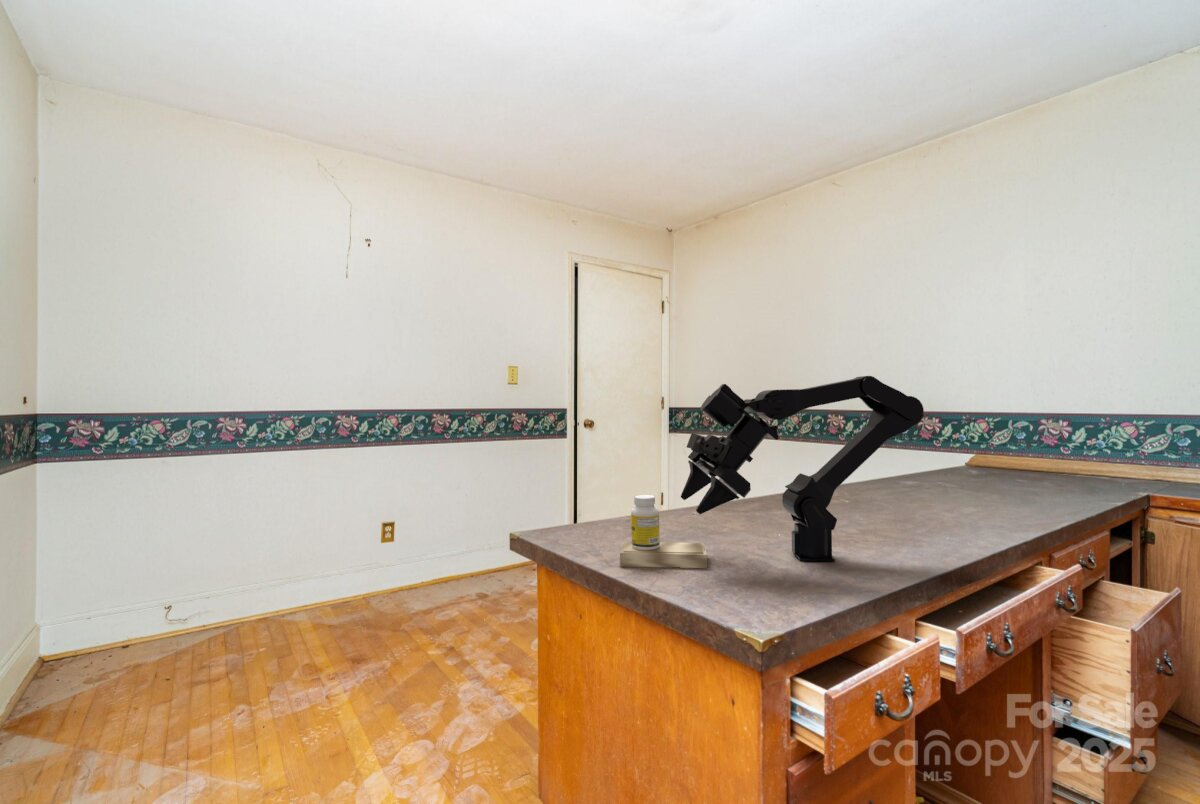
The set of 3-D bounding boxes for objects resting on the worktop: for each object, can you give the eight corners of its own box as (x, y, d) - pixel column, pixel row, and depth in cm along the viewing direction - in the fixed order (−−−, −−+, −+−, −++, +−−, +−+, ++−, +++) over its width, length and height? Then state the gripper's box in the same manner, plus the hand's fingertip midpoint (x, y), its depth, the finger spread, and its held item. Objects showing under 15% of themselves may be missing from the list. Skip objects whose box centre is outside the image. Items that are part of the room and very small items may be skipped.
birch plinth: (703, 555, 107) (703, 542, 107) (707, 568, 99) (706, 553, 99) (623, 554, 109) (623, 540, 109) (620, 566, 101) (620, 552, 101)
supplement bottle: (633, 543, 107) (633, 493, 107) (661, 544, 106) (660, 494, 106) (629, 550, 102) (628, 498, 102) (658, 551, 101) (657, 499, 101)
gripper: (694, 411, 113) (647, 469, 112) (730, 424, 94) (673, 493, 94) (732, 444, 115) (685, 501, 114) (774, 463, 96) (719, 531, 96)
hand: (689, 505), depth 105 cm, fingers open, 9 cm apart
